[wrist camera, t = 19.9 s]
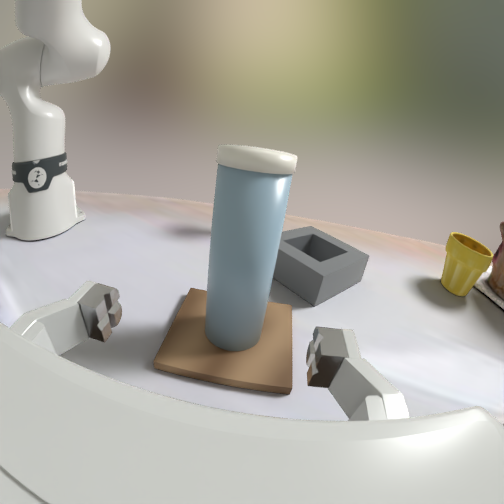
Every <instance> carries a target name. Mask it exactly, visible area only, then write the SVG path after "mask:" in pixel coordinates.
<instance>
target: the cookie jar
mask: <svg viewBox="0 0 504 504" xmlns="http://www.w3.org/2000/svg"><path fill="white" fill-rule="evenodd" d="M500 231H501V235H502V240H503V241H502V243H501V245H500V246H499V248H498V250H497V251H496V253H495V254H494V256H493V259H492V262H493V266H490V267H489V268H488V270H487V271H486V272H483V273H482V275H481V276H480V278H479V279H478V280H477V282H476V283H475V284H474V285H475V287H476V288H477V289H479V290H480V291H482V292H483V293H485V294H486V295H487V296H488V297H489V298H491V299H492V300H493V301H494V302H495V303H497V304H498V305H499V306H500V307H501V308H502V309H504V222H501V224H500Z"/></svg>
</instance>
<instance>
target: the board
mask: <svg viewBox="0 0 504 504" xmlns="http://www.w3.org/2000/svg"><path fill="white" fill-rule="evenodd" d="M206 300H207V291H205V290H200V289H195V288H191V289H190V290H189V292H188V294H187V296H186V298H185V300H184V302H183V304H182V306H181V308H180V310H179V311H178V313H177V315H176V317H175V319H174V321H173V323H172V325H171V327H170V329H169V331H168V333H167V335H166V337H165V339H164V341H163V343H162V345H161V347H160V349H159V351H158V353H157V355H156V357H155V359H154V361H153V362H154V368H155V369H159V370H163V371H166V372H170V373H174V374H178V375H182V376H186V377H190V378H194V379H199V380H203V381H208V382H213V383H218V384H223V385H228V386H234V387H239V388H246V389H252V390H259V391H266V392H274V393H282V394H290V392H291V390H292V305H287V304H281V303H274V302H268V303H267V308H266V313H265V317H264V322H263V327H262V331H261V336H260V339H259V341H258V343H257V344H256V345H255V346H253V347H252V348H249V349H247V350H243V351H228V350H224V349H221V348H219V347H217V346H215V345H214V344H212V343H211V342H210V341H209V339H208V338H207V336H206V334H205V320H206Z"/></svg>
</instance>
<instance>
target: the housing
mask: <svg viewBox="0 0 504 504" xmlns="http://www.w3.org/2000/svg"><path fill="white" fill-rule="evenodd" d="M368 258H369V255H367V254H365V253H363V252H361V251H359V250H357V249H355V248H354V247H352V246H350V245H348V244H346V243H344V242H342V241H340V240H338V239H336V238H334V237H332V236H330V235H328V234H326V233H324V232H322V231H320V230H318V229H316V228H314V227H312V226H309V227H304V228H299V229H294V230H289V231H284V232H282V234H281V239H280V244H279V249H278V254H277V259H276V264H275V269H274V274H273V278H274V279H276V280H277V281H279V282H280V283H282V284H283V285H284V286H286V287H287V288H289V289H290V290H291V291H293V292H294V293H296V294H297V295H299V296H300V297H301V298H303V299H304V300H306V301H307V302H309V303H310V304H311V305H313V306H314V307H315V306H317V305H318V304H320V303H322V302H324V301H326V300H328V299H330V298H331V297H333V296H335V295H337V294H339V293H341V292H342V291H344V290H346V289H348V288H349V287H351V286H353V285H355V284H356V283H358V282H360V281H361V279H362V276H363V273H364V270H365V267H366V264H367V261H368Z"/></svg>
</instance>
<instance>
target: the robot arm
mask: <svg viewBox="0 0 504 504" xmlns="http://www.w3.org/2000/svg"><path fill="white" fill-rule="evenodd" d="M81 4H82V0H15V22H16V26H17V28H18V30H19V31H20V32H21V33H22V34H24V35H26V36H29V37H27V38H22V39H19V40H17V41H14V42H12V43H10V44H8V45H6V46H4V47H2V48H0V95H1V97H2V98H3V99H4V100H5V102H6V104H7V106H8V108H9V111H10V114H11V118H12V125H13V148H14V162H13V163H12V175H13V181H14V185H13V187H12V189H11V190H10V192H9V193H8V203H9V213H10V221H11V224H10V225H9V227H8V228H7V229H6V235H7V236H14V237H16V238H18V239H21V240H39V239H44V238H48V237H52V236H55V235H57V234H60V233H62V232H64V231H66V230H68V229H69V228H71V227H72V226H73V225H75V224H76V223H78V222H80V221H82V220H84V219H86V217H85V213H84V212H83V211H82V210H81V209H80V208H79V207H78V206H77V205H76V198H75V188H74V181H73V180H72V179H71V178H70V177H69V176H68V175H67V174H66V170H67V157H66V153H65V152H64V148H65V146H64V144H65V143H64V142H65V115H64V112H63V111H62V109H61V108H59V107H58V106H56V105H54V104H52V103H49V102H47V101H44V100H42V99H41V97H40V88H41V87H43V86H47V85H54V84H62V83H71V82H76V81H80V80H84V79H88V78H91V77H95V76H97V74H99V73H100V72H101V71H102V69H103V68H104V67H105V65H106V63H107V61H108V59H109V56H110V41H109V39H108V37H107V35H106V34H105V33H104V32H102V31H100V30H98V29H97V28H95V27H94V26H93V25H91V24H90V23H89V21H88V20H87V19H86V17H85V15H84V14H83V11H82V5H81ZM119 297H120V296H119V292H118V290H117V289H116V288H113V287H109V286H106V285H103V284H99V283H95V282H92V281H86V282H85V283H84V284H83V285H82V286H81V287H80V288H79V289H78V290H77V291H76V292H75V293H74V294H73V295H72V296H71V297H70V298H69V299H68V300H67V299H63V300H60V301H58V302H55V303H52V304H49V305H46V306H43V307H40V308H38V309H35V310H32V311H29V312H26V313H24V314H23V315H22V316H21V317H20V318H19V319H18V320H17V321H16V322H15V323H14V324H13V325H12V326H11V327H10V328H8V327H7V326H5V325H4V324H2V323H1V322H0V504H504V427H503V425H502V424H501V423H500V422H499V421H498V420H497V419H496V418H495V417H494V416H493V415H492V414H491V413H489V412H488V411H487V410H485V409H484V408H482V407H480V406H474V407H469V408H464V409H460V410H455V411H450V412H444V413H439V414H433V415H426V416H418V417H410V418H409V415H408V411H407V408H406V404H405V401H404V397H403V394H402V393H401V392H400V391H399V390H398V389H397V388H395V387H394V386H393V385H392V384H391V383H390V382H389V381H388V380H387V379H386V378H385V377H384V376H383V375H382V374H380V373H379V372H378V371H377V370H376V369H375V368H374V367H373V366H372V365H371V364H370V363H369V362H368V361H367V360H365V359H361V355H360V351H359V347H358V344H357V340H356V337H355V333H354V331H353V330H350V329H335V328H325V327H317V326H316V328H315V330H314V333H313V340H312V341H311V342H310V344H309V347H308V350H307V357H306V363H307V366H308V367H309V369H308V372H307V383H308V386H312V387H323V388H328V390H329V391H330V392H331V394H332V395H333V397H334V398H335V399H336V401H337V402H338V404H339V405H340V406H341V408H342V409H343V411H344V412H345V414H346V415H347V416H348V418H349V420H348V421H319V420H301V419H288V418H278V417H269V416H261V415H253V414H246V413H240V412H234V411H228V410H223V409H218V408H213V407H208V406H203V405H199V404H194V403H190V402H186V401H182V400H178V399H174V398H171V397H167V396H163V395H160V394H157V393H153V392H150V391H147V390H144V389H140V388H137V387H134V386H131V385H129V384H126V383H123V382H120V381H117V380H115V379H112V378H109V377H107V376H104V375H102V374H99V373H97V372H94V371H92V370H89V369H87V368H85V367H82V366H80V365H78V364H76V363H73V362H71V361H69V360H67V359H65V358H63V357H61V356H59V355H61V354H63V353H64V352H66V351H68V350H70V349H71V348H73V347H75V346H76V345H78V344H80V343H82V342H83V341H85V340H87V339H89V337H90V338H93V339H95V340H98V341H102V342H106V340H107V339H108V337H109V336H110V335H111V333H112V330H111V328H113V327H115V326H117V325H118V323H119V322H120V319H121V316H122V308H121V305H120V303H119V302H118V301H117V300H118V299H119Z"/></svg>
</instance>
